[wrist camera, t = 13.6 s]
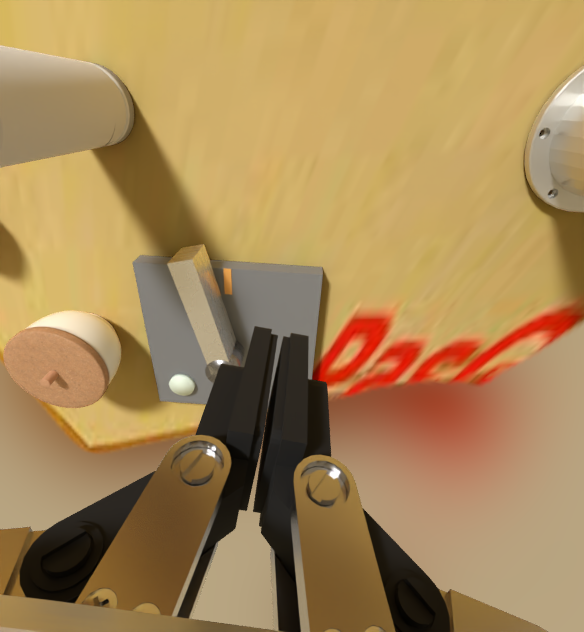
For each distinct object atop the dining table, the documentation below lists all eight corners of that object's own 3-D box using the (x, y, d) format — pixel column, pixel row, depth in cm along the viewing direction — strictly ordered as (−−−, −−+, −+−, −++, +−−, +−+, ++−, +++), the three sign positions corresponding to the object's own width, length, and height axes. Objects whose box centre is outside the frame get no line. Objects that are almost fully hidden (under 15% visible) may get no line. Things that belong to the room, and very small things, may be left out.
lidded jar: (112, 378, 48) (72, 433, 40) (36, 334, 45) (-24, 384, 37) (151, 331, 44) (115, 382, 36) (70, 278, 41) (10, 321, 33)
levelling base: (322, 267, 38) (322, 277, 36) (308, 400, 49) (308, 415, 46) (140, 255, 39) (129, 264, 36) (165, 390, 49) (158, 404, 47)
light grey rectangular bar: (249, 357, 42) (242, 384, 38) (220, 360, 43) (211, 387, 39) (212, 240, 35) (198, 258, 31) (178, 246, 35) (160, 264, 31)
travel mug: (139, 153, 33) (-44, 204, 16) (68, 135, 33) (-199, 169, 16) (139, 74, 30) (-91, 34, 13) (60, 54, 30) (-288, -16, 12)
